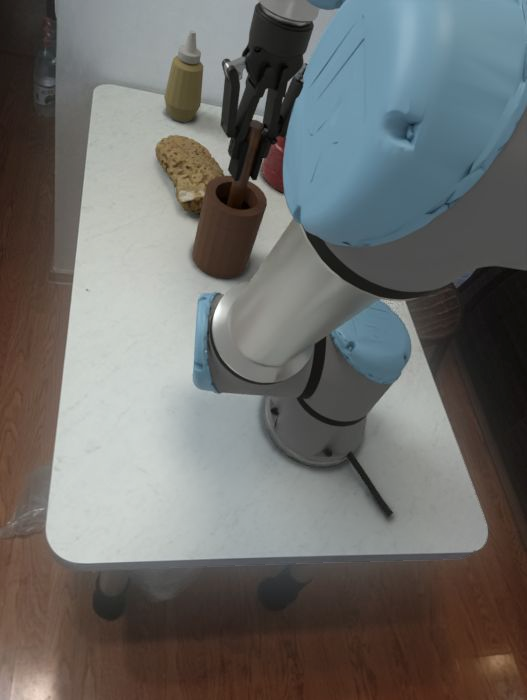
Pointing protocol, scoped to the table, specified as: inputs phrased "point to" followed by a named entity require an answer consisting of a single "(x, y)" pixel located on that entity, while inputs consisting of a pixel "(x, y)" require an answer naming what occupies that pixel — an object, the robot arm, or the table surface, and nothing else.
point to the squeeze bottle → (185, 82)
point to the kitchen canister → (275, 164)
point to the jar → (227, 229)
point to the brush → (246, 166)
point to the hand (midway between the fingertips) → (242, 174)
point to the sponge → (187, 169)
